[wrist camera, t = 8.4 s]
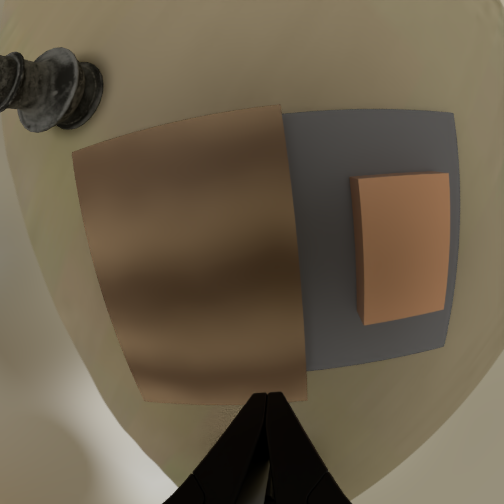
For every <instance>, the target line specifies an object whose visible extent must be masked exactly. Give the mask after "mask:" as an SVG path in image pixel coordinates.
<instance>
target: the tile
mask: <svg viewBox="0 0 504 504" xmlns="http://www.w3.org/2000/svg"><path fill="white" fill-rule="evenodd" d="M349 178H350V188H351V198H352V209H353V222H354V237H355V256H356V287H357V312H358V314H359V316H360V318H361V321H362V323H363V325H370V324H376V323H381V322H387V321H392V320H397V319H402V318H407V317H412V316H417V315H421V314H426V313H430V312H435V311H439V310H444V304H445V296H446V287H447V277H448V264H449V247H450V187H449V173H444V172H436V171H424V172H405V173H390V174H376V175H364V176H352V177H349Z"/></svg>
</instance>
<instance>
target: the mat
mask: <svg viewBox="0 0 504 504" xmlns="http://www.w3.org/2000/svg"><path fill="white" fill-rule="evenodd" d="M282 119H283V126H284V133H285V140H286V148H287V155H288V163H289V171H290V180H291V188H292V197H293V206H294V215H295V225H296V235H297V245H298V256H299V267H300V279H301V292H302V305H303V320H304V336H305V354H306V371H314V370H322V369H330V368H337V367H345V366H351V365H358V364H364V363H370V362H375V361H381V360H386V359H391V358H396V357H401V356H406V355H411V354H415V353H419V352H424V351H428V350H432V349H436V348H440V347H444V344H445V339H446V335H447V330H448V325H449V319H450V314H451V308H452V302H453V295H454V288H455V280H456V271H457V261H458V248H459V230H460V177H459V160H458V147H457V137H456V129H455V121H454V114H453V113H448V112H437V111H422V110H400V109H349V110H326V111H310V112H298V113H287V114H282ZM424 171H436V172H444V173H449V187H450V247H449V264H448V277H447V287H446V296H445V304H444V310H439V311H435V312H430V313H426V314H421V315H417V316H412V317H407V318H402V319H397V320H392V321H387V322H381V323H376V324H370V325H363V323H362V321H361V318H360V316H359V314H358V312H357V287H356V256H355V237H354V222H353V209H352V198H351V188H350V178H349V177H352V176H364V175H376V174H390V173H405V172H424Z"/></svg>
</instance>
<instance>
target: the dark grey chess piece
mask: <svg viewBox="0 0 504 504" xmlns="http://www.w3.org/2000/svg"><path fill="white" fill-rule="evenodd" d="M102 93H103V79H102V75H101V73H100V71H99V69H98V68H97V67H96V66H95V65H93V64H91V63H88V62H80V63H79V61H78V60H77V59H76V57H75V55H74V54H73V53H72V52H71V51H70V50H68V49H65V48H62V47H60V48H53V49H51V50H48V51H46V52H45V53H43V54H42V55H41V56H39V57H38V58H37V59H36V60H35V61H34V62H32V61H28V60H25V59H24V58H23V56H22V55H21V53H18V52H12V53H10V54H8V55H6V56H2V55H0V112H2V111H4V110H5V109H6V108H11V109H17V110H18V115H19V119H20V122H21V123H22V124H23V126H24V127H25V128H26V129H27V130H29V131H30V132H37V133H39V132H43V131H47V130H48V129H50V128H51V127H54V126H56V125H57V126H58V127H60V128H62V129H68V130H70V129H75V128H77V127H79V126H81V125H83V124H84V123H85V122H86V121H88V120H89V119H90V118H91V116H92V115H93V114H94V112H95V111H96V109H97V107H98V105H99V103H100V100H101V97H102Z"/></svg>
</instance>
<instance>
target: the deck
mask: <svg viewBox="0 0 504 504" xmlns="http://www.w3.org/2000/svg"><path fill="white" fill-rule="evenodd" d="M72 158H73V165H74V172H75V179H76V185H77V191H78V197H79V202H80V207H81V212H82V217H83V222H84V227H85V231H86V235H87V240H88V244H89V248H90V252H91V256H92V260H93V263H94V267H95V271H96V274H97V278H98V281H99V284H100V288H101V291H102V294H103V297H104V300H105V304H106V307H107V310H108V313H109V315H110V318H111V321H112V324H113V327H114V330H115V332H116V335H117V338H118V340H119V343H120V346H121V348H122V351H123V353H124V356H125V358H126V361H127V363H128V365H129V368H130V370H131V373H132V375H133V377H134V379H135V382H136V384H137V386H138V388H139V390H140V393H141V395H142V397H143V399H144V401H147V402H159V403H174V404H198V405H244V404H246V402H247V401H248V399H249V398H250V397H251V395H252V394H253V393H262V392H266V393H267V394H268V393H269V392H279V391H281V392H282V393H283V394H284V396H285V398H286V399H287V401H288V402H295V401H306V400H307V375H306V354H305V336H304V320H303V305H302V292H301V279H300V267H299V256H298V245H297V235H296V225H295V215H294V206H293V197H292V188H291V180H290V171H289V163H288V155H287V148H286V140H285V133H284V126H283V119H282V112H281V105H280V104H279V105H270V106H262V107H254V108H247V109H240V110H234V111H227V112H222V113H216V114H210V115H205V116H200V117H195V118H190V119H185V120H181V121H176V122H172V123H168V124H164V125H160V126H156V127H152V128H148V129H144V130H140V131H137V132H133V133H130V134H126V135H123V136H119V137H116V138H113V139H110V140H106V141H103V142H100V143H97V144H94V145H91V146H88V147H86V148H83V149H80V150H77V151H74V152H72Z"/></svg>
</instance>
